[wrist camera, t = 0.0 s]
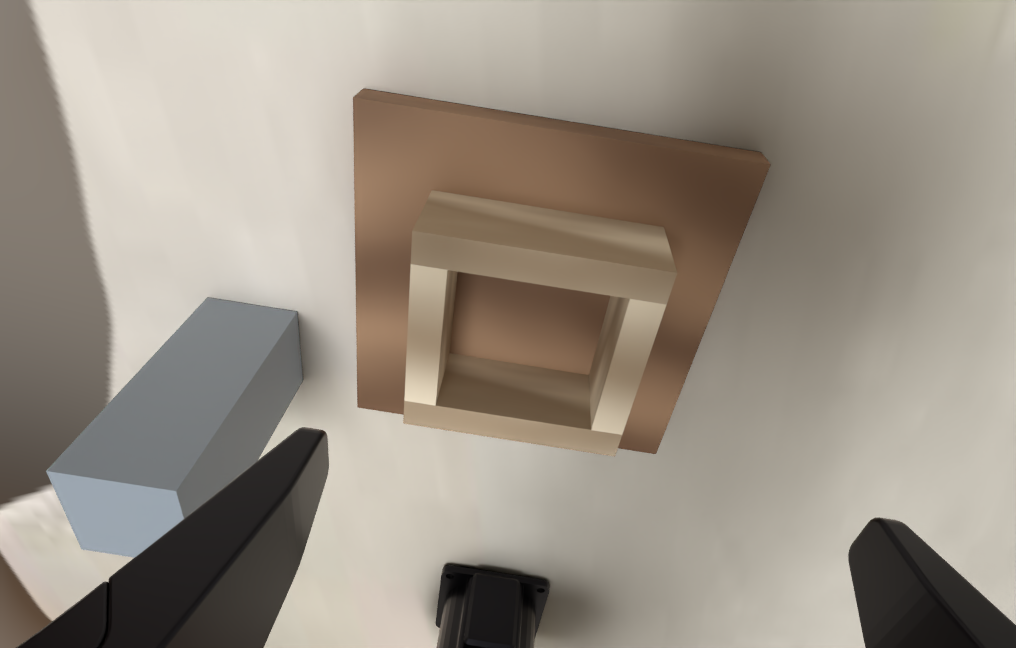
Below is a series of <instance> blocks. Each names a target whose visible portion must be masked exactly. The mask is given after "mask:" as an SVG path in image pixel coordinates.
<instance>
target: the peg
mask: <svg viewBox="0 0 1016 648" xmlns="http://www.w3.org/2000/svg"><path fill="white" fill-rule="evenodd" d="M302 381H303V374H302V362H301V350H300V338H299V326H298V313H297V311H290V310H284V309H278V308H271V307H265V306H259V305H252V304H246V303H240V302H233V301H227V300H221V299H214V298H208V297H207V299H206V300H205V301H204V302H203V303H202V304H201V305H200V306H199V307H198V308H197V309H196V310H195V311H194V312H193V314H192V315H191V316H190V317H189V318H188V319H187V320H186V321H185V322H184V323H183V324H182V325H181V326H180V328H179V329H178V330H177V331H176V332H175V333H174V334H173V335H172V336H171V337H170V338H169V339H168V340H167V342H166V343H165V344H164V345H163V346H162V347H161V348H160V349H159V350H158V351H157V352H156V353H155V354H154V355H153V357H152V358H151V359H150V360H149V361H148V362H147V363H146V364H145V365H144V366H143V367H142V368H141V369H140V371H139V372H138V373H137V374H136V375H135V376H134V377H133V378H132V379H131V380H130V381H129V382H128V383H127V385H126V386H125V387H124V388H123V389H122V390H121V391H120V392H119V393H118V394H117V395H116V396H115V397H114V398H113V400H112V401H111V402H110V403H109V404H108V405H107V406H106V407H105V408H104V409H103V410H102V411H101V412H100V414H99V415H98V416H97V417H96V418H95V419H94V420H93V421H92V422H91V423H90V424H89V425H88V427H86V429H85V430H84V431H83V432H82V433H81V434H80V435H79V436H78V437H77V438H76V439H75V440H74V441H73V443H72V444H71V445H70V446H69V447H68V448H67V449H66V450H65V451H64V452H63V454H62V455H61V456H60V457H59V458H58V459H57V460H56V461H55V462H54V463H53V464H52V465H51V466H50V467H49V468H48V469H47V470H46V471H47V474H48V476H49V478H50V481H51V483H52V485H53V487H54V489H55V492H56V494H57V496H58V498H59V500H60V503H61V505H62V507H63V509H64V511H65V514H66V516H67V518H68V520H69V522H70V525H71V527H72V529H73V531H74V533H75V536H76V538H77V540H78V542H79V544H80V547H81V549H83V550H90V551H96V552H103V553H109V554H116V555H122V556H128V557H136V556H137V555H139V554H140V553H141V552H143V551H144V550H145V549H146V548H148V547H149V546H150V545H151V544H153V543H154V542H155V541H156V540H158V539H159V538H160V537H162V536H163V535H164V534H165V533H167V532H168V531H169V530H170V529H172V528H173V527H174V526H176V525H177V524H178V523H179V522H181V521H182V520H183V519H184V518H186V517H187V516H188V515H189V514H191V513H192V512H193V511H195V510H196V509H197V508H198V507H200V506H201V505H202V504H203V503H205V502H206V501H207V500H209V499H210V498H211V497H212V496H214V495H215V494H216V493H217V492H219V491H220V490H221V489H222V488H224V487H225V486H226V485H228V484H229V483H230V482H231V481H233V480H234V479H235V478H236V477H238V476H239V475H240V474H242V473H243V472H244V471H245V470H247V469H248V468H249V467H250V466H252V465H253V464H254V463H255V462H257V461H258V459H259V457H260V455H261V454H262V452H263V450H264V448H265V447H266V445H267V443H268V441H269V439H270V438H271V436H272V434H273V432H274V431H275V429H276V427H277V425H278V424H279V422H280V420H281V418H282V416H283V415H284V413H285V411H286V409H287V408H288V406H289V404H290V402H291V401H292V399H293V397H294V395H295V393H296V392H297V390H298V388H299V386H300V385H301V383H302Z"/></svg>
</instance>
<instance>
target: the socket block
mask: <svg viewBox="0 0 1016 648" xmlns="http://www.w3.org/2000/svg"><path fill="white" fill-rule="evenodd" d="M353 121H354V191H355V262H356V332H357V402H358V407H359V408H365V409H371V410H378V411H384V412H391V413H397V414H403V415H404V420H403V423H404V424H411V425H417V426H423V427H430V428H436V429H443V430H449V431H455V432H462V433H468V434H475V435H481V436H487V437H494V438H500V439H507V440H513V441H519V442H526V443H532V444H539V445H545V446H551V447H558V448H564V449H570V450H577V451H583V452H590V453H596V454H602V455H609V456H615V455H616V452H617V449H618V448H621V449H627V450H633V451H640V452H646V453H653V454H656V453H657V450H658V447H659V445H660V442H661V440H662V437H663V435H664V432H665V430H666V427H667V425H668V422H669V420H670V417H671V415H672V412H673V410H674V407H675V405H676V402H677V399H678V397H679V394H680V392H681V389H682V387H683V384H684V382H685V379H686V377H687V374H688V372H689V369H690V367H691V364H692V362H693V359H694V357H695V354H696V352H697V349H698V346H699V344H700V341H701V339H702V336H703V334H704V331H705V329H706V326H707V324H708V321H709V319H710V316H711V314H712V311H713V309H714V306H715V304H716V301H717V298H718V296H719V293H720V291H721V288H722V286H723V283H724V281H725V278H726V276H727V273H728V271H729V268H730V266H731V263H732V261H733V258H734V256H735V253H736V251H737V248H738V245H739V243H740V240H741V238H742V235H743V233H744V230H745V228H746V225H747V223H748V220H749V218H750V215H751V213H752V210H753V208H754V205H755V203H756V200H757V198H758V195H759V192H760V190H761V187H762V185H763V182H764V180H765V177H766V175H767V172H768V170H769V167H770V165H771V164H770V163H769V162H768V160H767V159H766V158H765V157H764V155H763V154H762V153H761V152H756V151H750V150H744V149H737V148H731V147H725V146H719V145H712V144H706V143H700V142H694V141H687V140H681V139H675V138H669V137H662V136H656V135H650V134H644V133H638V132H631V131H625V130H619V129H613V128H606V127H600V126H594V125H588V124H581V123H575V122H569V121H563V120H556V119H550V118H544V117H538V116H532V115H525V114H519V113H513V112H507V111H500V110H494V109H488V108H482V107H475V106H469V105H463V104H457V103H450V102H444V101H438V100H432V99H426V98H419V97H413V96H407V95H401V94H394V93H388V92H382V91H376V90H369V89H362V90H361V91H360V92H359V93H358V94H357V95H355V96H354V97H353Z"/></svg>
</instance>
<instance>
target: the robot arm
mask: <svg viewBox="0 0 1016 648" xmlns="http://www.w3.org/2000/svg"><path fill="white" fill-rule="evenodd" d="M328 469H329V457H328V438H327V434H326V432H325V431H323V430H319V429H313V428H306V427H302V428H299V429H298V430H296V431H295V432H294V433H292V434H291V435H290V436H288V437H287V438H286V439H285V440H283V441H282V442H281V443H280V444H278V445H277V446H276V447H275V448H273V449H272V450H271V451H269V452H268V453H267V454H266V455H264V456H263V457H262V458H261V459H259V460H258V461H257V462H255V463H254V464H253V465H252V466H250V467H249V468H248V469H247V470H245V471H244V472H243V473H242V474H240V475H239V476H238V477H236V478H235V479H234V480H233V481H231V482H230V483H229V484H228V485H226V486H225V487H224V488H222V489H221V490H220V491H219V492H217V493H216V494H215V495H214V496H212V497H211V498H210V499H209V500H207V501H206V502H205V503H203V504H202V505H201V506H200V507H198V508H197V509H196V510H195V511H193V512H192V513H191V514H189V515H188V516H187V517H186V518H184V519H183V520H182V521H181V522H179V523H178V524H177V525H176V526H174V527H173V528H172V529H170V530H169V531H168V532H167V533H165V534H164V535H163V536H162V537H160V538H159V539H158V540H156V541H155V542H154V543H153V544H151V545H150V546H149V547H148V548H146V549H145V550H144V551H143V552H141V553H140V554H139V555H137V556H136V557H135V558H134V559H132V560H131V561H130V562H129V563H127V564H126V565H125V566H123V567H122V568H121V569H120V570H118V571H117V572H116V573H115V574H113V575H112V576H111V577H110V578H109V583H108V582H103V583H102V584H100V585H99V586H98V587H96V588H95V589H94V590H93V591H91V592H90V593H89V594H88V595H86V596H85V597H84V598H83V599H81V600H80V601H79V602H77V603H76V604H75V605H73V606H72V607H71V608H69V609H68V610H67V611H65V612H64V613H63V614H62V615H60V616H59V617H58V618H56V619H55V620H54V621H52V622H51V623H50V624H48V625H47V626H46V627H44V628H43V629H42V630H40V631H39V632H38V633H36V634H35V635H34V636H32V637H30V638H29V639H28V640H26V641H25V642H23V643H22V644H20V645H19V646H18V647H16V648H263V647H264V645H265V643H266V641H267V638H268V636H269V634H270V632H271V629H272V627H273V625H274V623H275V620H276V618H277V616H278V613H279V611H280V609H281V607H282V604H283V602H284V600H285V598H286V595H287V593H288V591H289V589H290V586H291V584H292V582H293V579H294V577H295V575H296V572H297V570H298V567H299V565H300V562H301V559H302V556H303V553H304V550H305V546H306V543H307V540H308V537H309V534H310V530H311V527H312V524H313V521H314V518H315V514H316V511H317V508H318V505H319V502H320V498H321V495H322V492H323V489H324V486H325V482H326V479H327V475H328ZM849 566H850V571H851V576H852V581H853V586H854V591H855V597H856V602H857V607H858V612H859V617H860V622H861V627H862V633H863V638H864V642H865V647H866V648H1016V625H1015V624H1014V623H1013V622H1012V621H1011V620H1010V619H1008V618H1007V617H1006V616H1005V615H1004V614H1003V613H1002V612H1001V611H1000V610H999V609H998V608H996V607H995V606H994V605H993V604H992V603H991V602H990V601H989V600H988V599H987V598H985V597H984V596H983V595H982V594H981V593H980V592H979V591H978V590H977V589H976V588H975V587H973V586H972V585H971V584H970V583H969V582H968V581H967V580H966V579H965V578H964V577H962V576H961V575H960V574H959V573H958V572H957V571H956V570H955V569H954V568H953V567H952V566H950V565H949V564H948V563H947V562H946V561H945V560H944V559H943V558H942V557H941V556H939V555H938V554H937V553H936V552H935V551H934V550H933V549H932V548H931V547H930V546H929V545H927V544H926V543H925V542H924V541H923V540H922V539H921V538H920V537H919V536H918V535H916V534H915V533H914V532H913V531H912V530H911V529H910V528H909V527H908V526H906V525H905V524H904V523H902V522H900V521H897V520H891V519H885V518H874V519H872V520H870V521H869V522H868V524H867V525H866V526H865V528H864V529H863V530H862V532H861V533H860V534H859V536H858V537H857V538H856V539H855V541H854V542H853V543H852V545H851V547H850V549H849ZM548 594H549V583H548V582H547V581H546V580H542V579H535V578H529V577H523V576H516V575H510V574H503V573H497V572H490V571H484V570H477V569H471V568H464V567H458V566H451V565H448V566H445V567H443V570H442V575H441V584H440V592H439V600H438V608H437V617H436V626H437V627H439V628H440V631H439V637H438V642H437V648H534V639H535V636H536V633H537V629H538V626H539V623H540V620H541V616H542V613H543V610H544V607H545V603H546V600H547V597H548Z"/></svg>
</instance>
